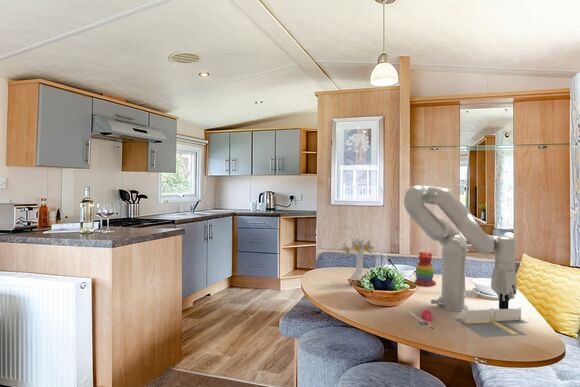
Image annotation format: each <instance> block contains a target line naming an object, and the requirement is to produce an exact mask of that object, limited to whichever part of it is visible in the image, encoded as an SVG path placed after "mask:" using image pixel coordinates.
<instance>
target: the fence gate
mask: <svg viewBox="0 0 580 387" xmlns="http://www.w3.org/2000/svg"><path fill="white" fill-rule="evenodd" d="M494 309H495V308H494ZM509 320H522V308H521V307H517V308H508V309H499V308H496V309H495V312H494V321H509Z"/></svg>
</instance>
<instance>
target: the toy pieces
mask: <svg viewBox="0 0 580 387" xmlns="http://www.w3.org/2000/svg"><path fill="white" fill-rule="evenodd" d="M420 316H421V318H422V319H424V320H426V321H427V322H430V323H432V322H433V319H432V311H431V310H430V309H424V310H423V311H422V312H421V315H420ZM426 321H418V324H419V326H428V325H429V324H428V323H427V322H426ZM428 328H430V329H431V330H434V327H433V326H429V327H428Z"/></svg>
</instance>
